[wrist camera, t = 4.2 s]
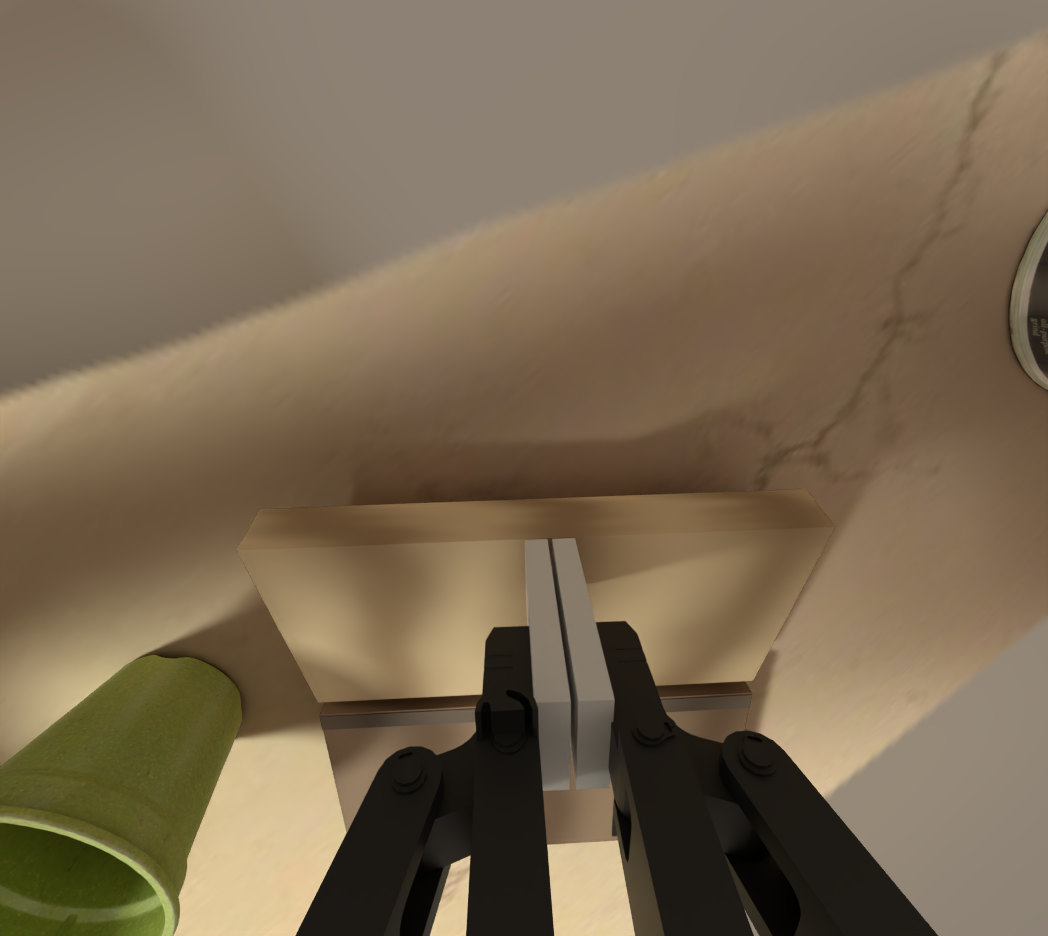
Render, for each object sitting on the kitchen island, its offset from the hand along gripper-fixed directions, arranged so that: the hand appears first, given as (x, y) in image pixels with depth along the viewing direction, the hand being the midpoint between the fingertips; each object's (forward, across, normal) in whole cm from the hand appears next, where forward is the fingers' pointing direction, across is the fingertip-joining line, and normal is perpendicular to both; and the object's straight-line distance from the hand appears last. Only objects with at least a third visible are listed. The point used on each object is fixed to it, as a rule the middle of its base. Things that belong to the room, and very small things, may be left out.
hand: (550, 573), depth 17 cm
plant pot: (+5, +18, +10) cm, 21 cm away
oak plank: (+3, 0, +3) cm, 5 cm away
